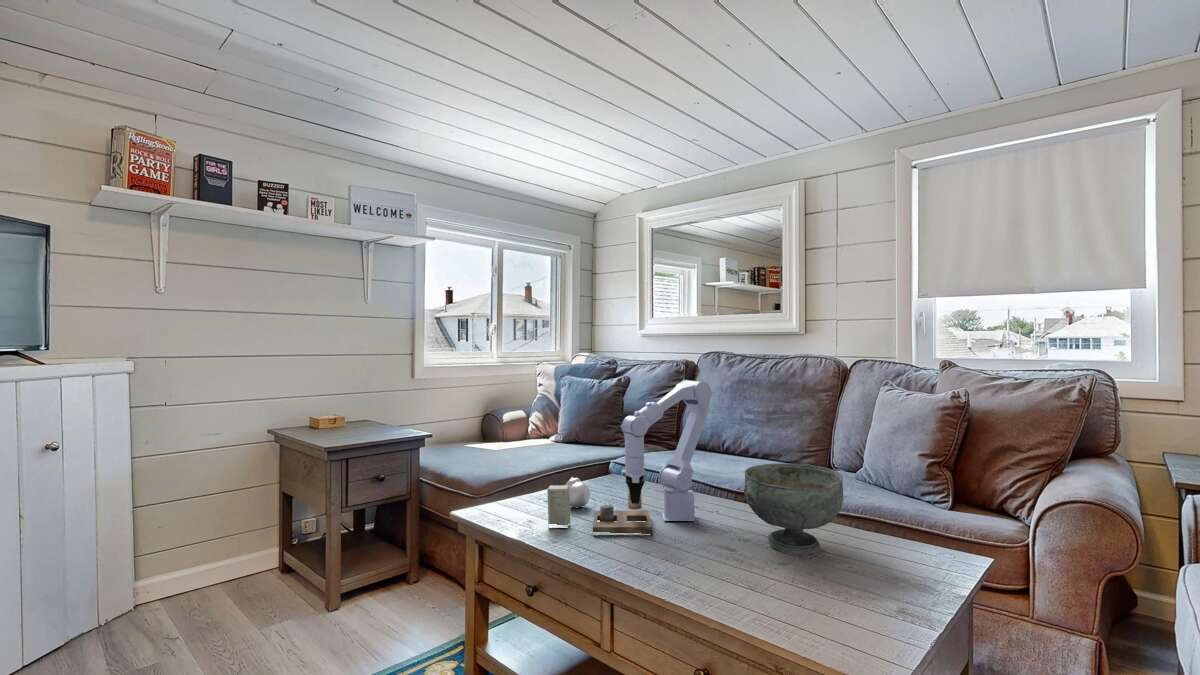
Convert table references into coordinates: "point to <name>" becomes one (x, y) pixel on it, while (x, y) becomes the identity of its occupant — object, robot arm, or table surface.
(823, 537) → the table surface
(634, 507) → the birch peg
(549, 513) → the skincare box
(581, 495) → the ghost figurine
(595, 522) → the pocket board
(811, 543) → the decorative bowl
